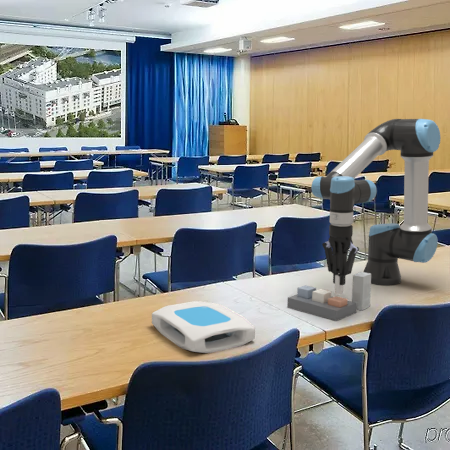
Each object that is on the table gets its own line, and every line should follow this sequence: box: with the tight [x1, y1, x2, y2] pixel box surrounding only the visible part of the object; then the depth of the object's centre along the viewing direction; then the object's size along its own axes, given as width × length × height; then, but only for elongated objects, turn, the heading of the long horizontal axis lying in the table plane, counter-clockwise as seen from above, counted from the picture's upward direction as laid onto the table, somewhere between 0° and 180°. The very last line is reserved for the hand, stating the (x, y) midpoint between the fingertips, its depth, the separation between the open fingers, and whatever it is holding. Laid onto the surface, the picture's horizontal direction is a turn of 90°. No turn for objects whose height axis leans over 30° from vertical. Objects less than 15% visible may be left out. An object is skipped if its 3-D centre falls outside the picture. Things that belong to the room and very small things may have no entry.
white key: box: [312, 288, 332, 303], centre depth 204 cm, size 5×5×4 cm
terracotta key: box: [328, 295, 349, 308], centre depth 200 cm, size 5×5×4 cm
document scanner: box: [151, 300, 256, 354], centre depth 181 cm, size 21×28×6 cm
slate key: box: [296, 284, 317, 299], centre depth 209 cm, size 5×5×4 cm
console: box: [287, 294, 357, 322], centre depth 205 cm, size 12×20×4 cm, turn 46°
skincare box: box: [351, 271, 372, 311], centre depth 207 cm, size 6×4×12 cm
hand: (338, 293), depth 200 cm, fingers closed
